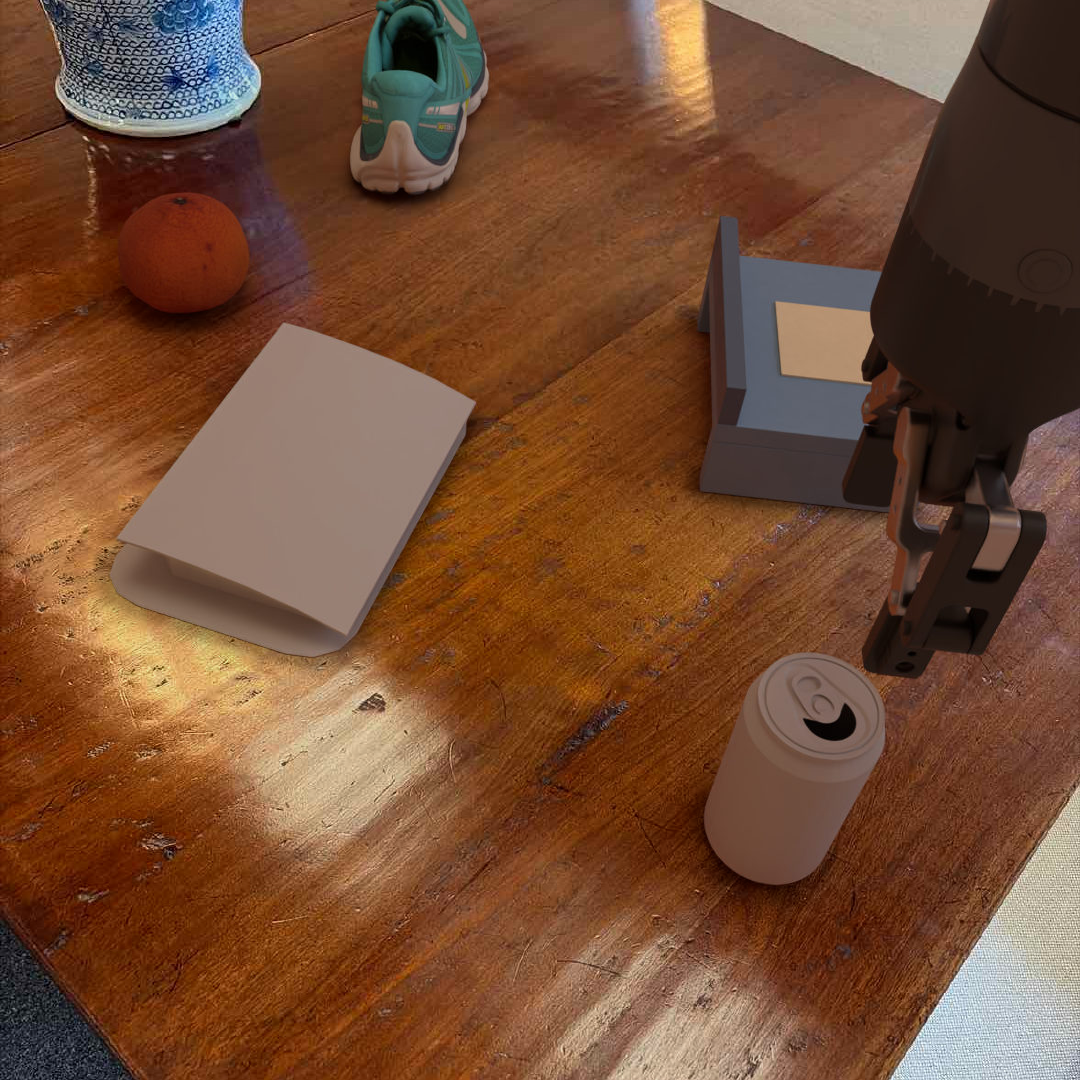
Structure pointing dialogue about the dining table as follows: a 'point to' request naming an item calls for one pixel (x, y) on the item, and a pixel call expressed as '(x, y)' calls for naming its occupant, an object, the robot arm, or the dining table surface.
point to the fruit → (183, 253)
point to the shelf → (784, 374)
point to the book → (294, 496)
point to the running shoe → (417, 94)
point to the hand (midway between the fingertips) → (876, 577)
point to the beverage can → (794, 767)
